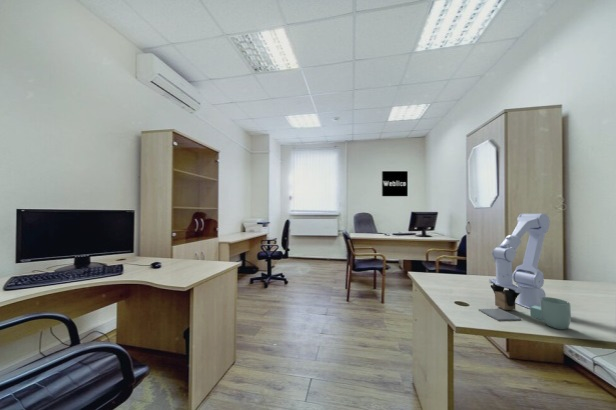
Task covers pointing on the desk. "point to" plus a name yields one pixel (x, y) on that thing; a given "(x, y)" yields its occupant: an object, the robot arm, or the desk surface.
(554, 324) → the cup
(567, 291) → the desk surface
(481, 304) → the desk surface
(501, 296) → the walnut block
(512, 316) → the slate coaster
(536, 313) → the teal block
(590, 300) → the desk surface
